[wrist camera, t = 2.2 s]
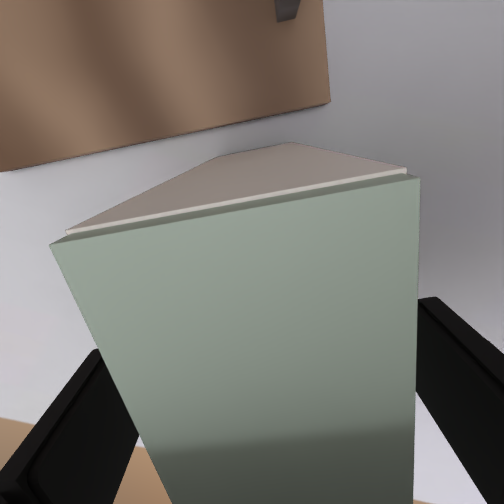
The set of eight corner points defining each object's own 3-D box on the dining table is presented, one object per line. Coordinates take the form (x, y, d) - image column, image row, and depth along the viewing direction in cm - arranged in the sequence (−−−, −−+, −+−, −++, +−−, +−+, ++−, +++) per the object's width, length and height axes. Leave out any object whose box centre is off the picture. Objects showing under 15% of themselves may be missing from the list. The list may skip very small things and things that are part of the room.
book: (290, 141, 16) (424, 172, 3) (314, 323, 20) (411, 664, 7) (217, 156, 16) (42, 242, 3) (256, 332, 21) (248, 668, 8)
